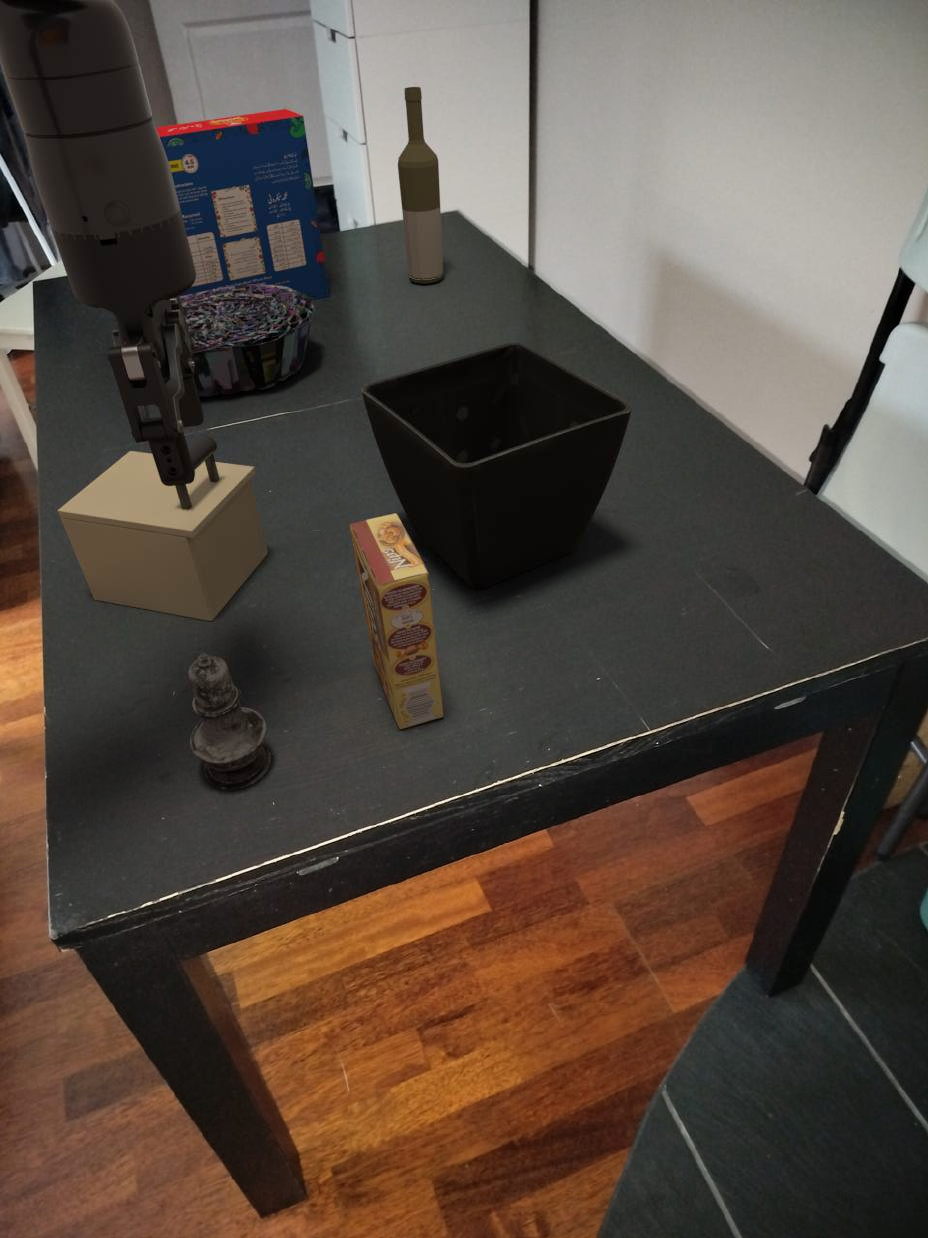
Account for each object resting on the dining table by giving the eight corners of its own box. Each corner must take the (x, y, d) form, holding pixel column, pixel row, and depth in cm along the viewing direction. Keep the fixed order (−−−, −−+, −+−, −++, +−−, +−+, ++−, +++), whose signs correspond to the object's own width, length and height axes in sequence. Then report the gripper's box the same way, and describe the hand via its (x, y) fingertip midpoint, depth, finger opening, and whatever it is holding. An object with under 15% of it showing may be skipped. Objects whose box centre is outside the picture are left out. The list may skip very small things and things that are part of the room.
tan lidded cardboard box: (268, 553, 91) (249, 473, 85) (211, 621, 83) (186, 537, 77) (158, 536, 95) (132, 457, 89) (93, 599, 86) (60, 518, 80)
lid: (256, 473, 85) (244, 423, 81) (194, 538, 76) (178, 485, 73) (132, 457, 88) (116, 409, 85) (60, 517, 80) (39, 466, 77)
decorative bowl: (346, 393, 125) (342, 325, 119) (151, 425, 115) (136, 352, 109) (293, 335, 143) (287, 273, 137) (121, 359, 133) (106, 293, 127)
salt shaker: (185, 781, 68) (142, 670, 60) (228, 729, 72) (192, 619, 64) (248, 801, 66) (212, 689, 58) (288, 747, 70) (259, 636, 62)
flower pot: (624, 554, 88) (638, 402, 77) (469, 623, 81) (460, 466, 70) (518, 478, 101) (517, 338, 90) (376, 531, 94) (356, 386, 83)
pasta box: (312, 283, 157) (285, 108, 139) (329, 295, 152) (303, 115, 134) (160, 317, 147) (110, 133, 129) (173, 331, 142) (122, 142, 124)
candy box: (446, 718, 72) (433, 571, 62) (397, 732, 71) (376, 585, 61) (415, 652, 78) (398, 510, 68) (370, 665, 77) (347, 521, 67)
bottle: (450, 274, 158) (439, 83, 138) (440, 287, 152) (428, 91, 133) (413, 272, 159) (397, 84, 140) (402, 285, 154) (385, 92, 135)
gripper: (72, 186, 56) (144, 413, 67) (21, 253, 45) (117, 512, 56) (188, 175, 57) (241, 402, 67) (165, 238, 46) (233, 497, 56)
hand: (185, 452), depth 61 cm, fingers open, 8 cm apart
